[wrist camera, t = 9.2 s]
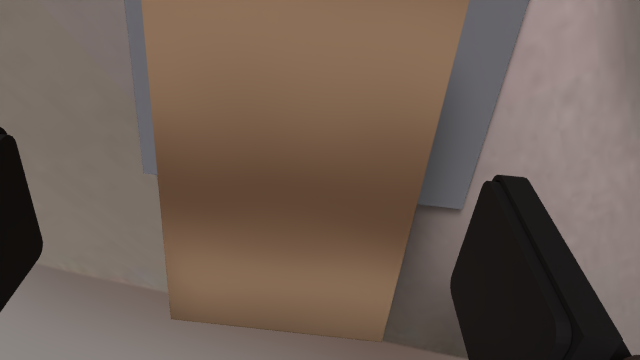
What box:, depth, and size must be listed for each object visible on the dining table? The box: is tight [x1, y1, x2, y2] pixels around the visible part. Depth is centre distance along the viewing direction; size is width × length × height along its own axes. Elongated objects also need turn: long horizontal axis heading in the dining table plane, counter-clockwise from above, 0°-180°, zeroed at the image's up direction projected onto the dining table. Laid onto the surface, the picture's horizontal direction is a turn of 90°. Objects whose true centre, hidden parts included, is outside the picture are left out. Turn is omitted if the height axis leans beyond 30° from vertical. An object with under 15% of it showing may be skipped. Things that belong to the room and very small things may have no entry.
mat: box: [124, 0, 529, 209], centre depth 19 cm, size 14×12×1 cm
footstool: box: [141, 0, 469, 342], centre depth 15 cm, size 10×6×8 cm, turn 174°
